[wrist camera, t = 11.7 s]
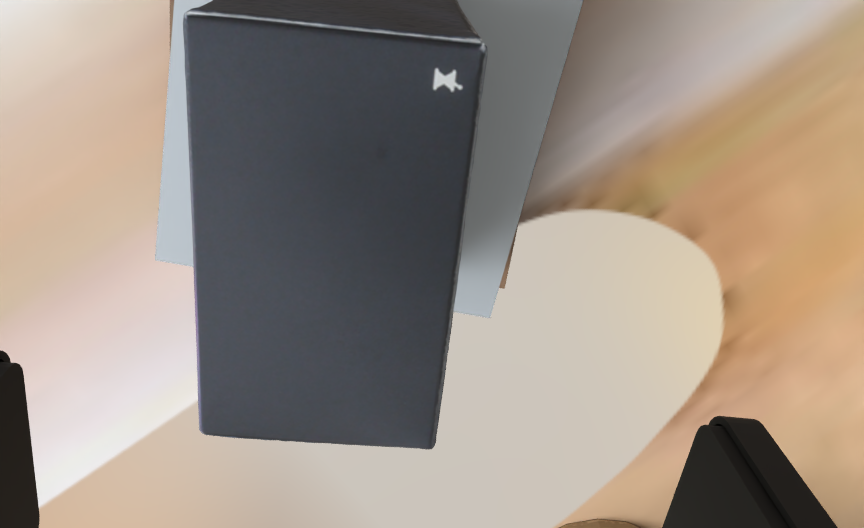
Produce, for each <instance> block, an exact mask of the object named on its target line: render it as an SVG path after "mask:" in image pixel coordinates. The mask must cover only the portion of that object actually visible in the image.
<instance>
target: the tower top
mask: <svg viewBox="0 0 864 528" xmlns="http://www.w3.org/2000/svg"><path fill="white" fill-rule="evenodd" d="M211 1H213V0H174V11H173V25H172V38H171V52H170V65H169V79H168V92H167V106H166V119H165V133H164V146H163V160H162V173H161V187H160V200H159V214H158V227H157V241H156V254H155V260H157V261H163V262H168V263H174V264H180V265H186V266H191V267H194V264H193V238H192V214H191V191H190V168H189V145H188V122H187V100H186V79H185V51H184V35H183V18H184V13H185V12H187V11H189V10H190V9H192V8H197V7H200V6H203V5H205V4H207V3H209V2H211ZM457 1H458V3H459V5H460V7H461V9H462V11H463V12H464V14H465V16H466V17H467V18H468V19H469V21H470V22H471V25H472V26H473V27H474V29H475V31H476V32H477V33H478V35H479V36H480V37H481V39H482V41H483V43H484V44H485V45H486V46H487V49H488V55H487V63H486V70H485V78H484V85H483V93H482V99H481V111H480V116H479V123H478V133H477V140H476V147H475V155H474V164H473V169H472V175H471V183H470V191H469V199H468V205H467V211H466V218H465V228H464V237H463V244H462V252H461V261H460V267H459V275H458V283H457V291H456V297H455V304H454V311H453V312H457V313H463V314H469V315H474V316H480V317H485V318H490V316H491V313H492V309H493V306H494V303H495V299H496V296H497V293H498V289H499V286H500V282H501V279H502V276H503V272H504V269H505V265H506V262H507V259H508V255H509V252H510V248H511V245H512V241H513V238H514V235H515V231H516V228H517V224H518V221H519V218H520V214H521V211H522V207H523V204H524V201H525V197H526V194H527V190H528V187H529V184H530V180H531V177H532V173H533V170H534V167H535V163H536V160H537V156H538V153H539V150H540V146H541V143H542V139H543V136H544V132H545V129H546V126H547V122H548V119H549V115H550V112H551V109H552V105H553V102H554V98H555V95H556V92H557V88H558V85H559V81H560V78H561V75H562V71H563V68H564V64H565V61H566V58H567V54H568V51H569V47H570V44H571V40H572V37H573V34H574V30H575V27H576V23H577V20H578V17H579V13H580V10H581V6H582V3H583V0H457Z"/></svg>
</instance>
